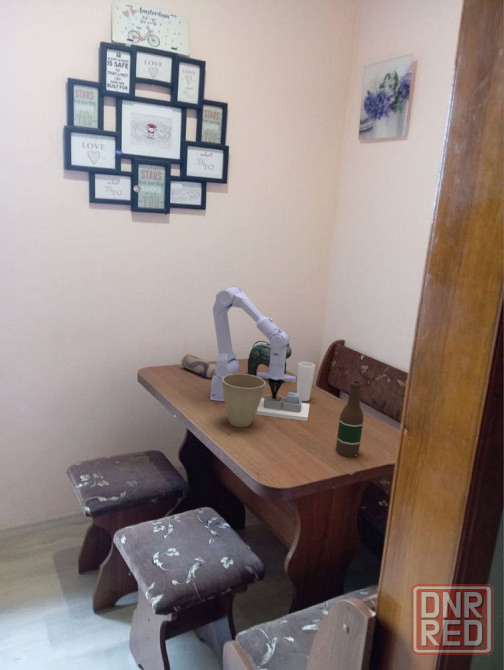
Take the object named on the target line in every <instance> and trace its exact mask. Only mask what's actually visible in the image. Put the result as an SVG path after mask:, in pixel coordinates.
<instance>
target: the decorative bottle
mask: <svg viewBox="0 0 504 670" xmlns="http://www.w3.org/2000/svg"><path fill="white" fill-rule="evenodd" d="M180 362H181V366H182V367H183V368H185V369H187V370H190V371H192V372H195V373H197V374H199V375H201V376H202V377H205V378H207V379H212V378H213V376H214V375H217V374H216V371H215V369H216V366H217V364H215V363H212V362H210V361H209V360H208V361H207V360H204V359H203V358H200V357H199V356H195V355H192V354H190V353H187V354H186V355H183V357H182V359H181V361H180Z"/></svg>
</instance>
